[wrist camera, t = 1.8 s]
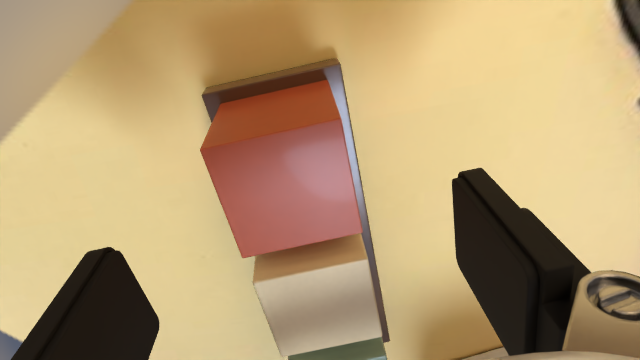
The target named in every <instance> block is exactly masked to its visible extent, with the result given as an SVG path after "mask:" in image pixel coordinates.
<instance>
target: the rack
mask: <svg viewBox="0 0 640 360" xmlns="http://www.w3.org/2000/svg"><path fill="white" fill-rule="evenodd" d="M323 80H328V82H329V85H330V87H331V90H332V93H333V96H334V99H335V102H336V105H337V107H338V110H339V113H340V116H341V119H342V124H343V130H344V135H345V140H346V145H347V151H348V156H349V161H350V166H351V172H352V177H353V182H354V187H355V193H356V198H357V203H358V208H359V214H360V219H361V224H362V229H363V233H359V234H355V235H350V236H345V237H340V238H336V239H331V240H326V241H322V242H317V243H312V244H308V245H303V246H298V247H293V248H289V249H284V250H279V251H275V252H270V253H265V254H260V255H256V256H255V266H254V276H253V285H254V288H255V290H256V293H257V295H258V298H259V301H260V303H261V306H262V308H263V311H264V313H265V316H266V318H267V321H268V324H269V326H270V329H271V331H272V334H273V336H274V339H275V341H276V344H277V346H278V349H279V352H280V354H281V356H282V357H285V356H288V360H387V356H386V352H385V348H384V344H383V343H384V342H389V341H390V339H389V333H388V328H387V322H386V316H385V311H384V305H383V300H382V294H381V288H380V283H379V277H378V272H377V266H376V260H375V255H374V249H373V244H372V238H371V232H370V227H369V221H368V216H367V210H366V204H365V199H364V193H363V188H362V182H361V176H360V171H359V165H358V160H357V154H356V148H355V143H354V137H353V132H352V126H351V120H350V115H349V109H348V104H347V98H346V92H345V87H344V81H343V76H342V70H341V64H340V62H339V61H338V59H337V58H335V59H331V60H326V61H322V62H317V63H313V64H309V65H304V66H300V67H296V68H291V69H287V70H282V71H278V72H274V73H269V74H265V75H260V76H256V77H252V78H247V79H243V80H239V81H234V82H230V83H225V84H221V85H217V86H212V87H208V88H206V89H205V91H204V92H203V94H202V98H203V100H204V103H205V106H206V109H207V111H208V114H209V117H210V120H211V122H213V119H214V117H215V115H216V113H217V110H218V108H219V106H220V104H221V103H226V102H230V101H235V100H239V99H244V98H248V97H252V96H257V95H261V94H266V93H270V92H275V91H279V90H283V89H288V88H292V87H297V86H301V85H305V84H310V83H314V82H319V81H323Z"/></svg>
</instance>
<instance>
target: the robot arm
mask: <svg viewBox="0 0 640 360" xmlns="http://www.w3.org/2000/svg"><path fill="white" fill-rule="evenodd" d="M452 193H453V211H454V229H455V247H456V259H457V263H458V265H459V268H460V270H461V272H462V273H463V275H464V277H465V279H466V280H467V282H468V284H469V286H470V288H471V289H472V291H473V293H474V295H475V296H476V298H477V300H478V302H479V304H480V305H481V307H482V309H483V311H484V312H485V314H486V316H487V318H488V319H489V321H490V323H491V325H492V327H493V328H494V330H495V332H496V334H497V335H498V337H499V339H500V341H501V343H502V344H503V346H504V348H505V350H506V351H507V353H508V355H509V356H506V357H498V358H492V359H486V360H640V277H639V276H636V275H633V274H629V273H626V272H620V271H612V270H609V271H597V272H593V273H591V272H590V271H589V270H588V269H587V268H586V267H585V266H584V265H583V264H582V263H581V262H580V261H579V260H578V259H577V258H576V256H575V255H574V254H573V253H572V252H571V251H570V250H569V249H568V248H567V247H566V246H565V245H564V244H563V243H562V242H561V241H560V240H559V239H558V238H557V237H556V236H555V235H554V234H553V233H552V232H551V231H550V230H549V229H548V228H547V227H546V226H545V225H544V224H543V223H542V222H541V221H540V220H539V219H538V218H537V217H536V216H535V215H534V214H533V213H532V212H531V211H530V210H528V209H526V208H520V207H519V206H518V205H517V204H516V203H515V202H514V201H513V200H512V199H511V198H510V197H509V196H508V195H507V194H506V193H505V192H504V191H503V190H502V189H501V187H500V186H499V185H498V184H497V183H496V182H495V181H494V180H493V179H492V178H491V177H490V176H489V175H488V174H487V173H486V172H485V171H484V170H483V169H482V168H476V169H472V170H467V171H462V172H459V174H458V178H455V179H453V180H452ZM158 331H159V319H158V317H157V315H156V313H155V311H154V309H153V308H152V306H151V304H150V302H149V301H148V299H147V297H146V295H145V294H144V292H143V290H142V288H141V286H140V285H139V283H138V281H137V279H136V278H135V276H134V274H133V272H132V271H131V269H130V267H129V265H128V263H127V262H126V260H125V258H124V256H123V255H122V253H121V252H120V251H115V250H114V249H113V248H111V247H107V248H102V249H97V250H93V251H89V252H87V253H86V254H85V255H84V257H83V258H82V260H81V261H80V263H79V264H78V265H77V267H76V268H75V270H74V271H73V272H72V274H71V275H70V277H69V278H68V280H67V281H66V282H65V284H64V285H63V287H62V288H61V289H60V291H59V292H58V294H57V295H56V296H55V298H54V299H53V301H52V302H51V304H50V305H49V306H48V308H47V309H46V311H45V312H44V313H43V315H42V316H41V318H40V319H39V321H38V322H37V323H36V325H35V326H34V328H33V329H32V330H31V332H30V333H29V335H28V336H27V338H26V339H25V340H24V342H23V343H22V345H21V346H20V347H19V349H18V351H17V352H16V353H15V354H14V356H13V357H12V359H11V360H148V359H149V356H150V353H151V350H152V348H153V345H154V342H155V339H156V337H157V334H158Z"/></svg>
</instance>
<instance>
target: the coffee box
mask: <svg viewBox="0 0 640 360" xmlns="http://www.w3.org/2000/svg"><path fill="white" fill-rule="evenodd" d="M506 356H509V355H508V353H507V351H506V350H505V348H504V347H502V348H498V349H495V350H491V351H488V352H485V353H482V354H478V355H475V356H471V357H468V358H464V359H461V360H486V359H492V358H498V357H506Z"/></svg>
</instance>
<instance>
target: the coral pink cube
mask: <svg viewBox="0 0 640 360" xmlns="http://www.w3.org/2000/svg"><path fill="white" fill-rule="evenodd" d="M200 151H201V154H202V156H203V159H204V161H205V164H206V166H207V169H208V172H209V174H210V177H211V179H212V182H213V184H214V187H215V189H216V192H217V195H218V197H219V200H220V202H221V205H222V207H223V210H224V212H225V215H226V217H227V220H228V223H229V225H230V228H231V230H232V233H233V235H234V238H235V240H236V243H237V245H238V248H239V251H240V253H241V256H242V258H246V257H251V256H256V255H260V254H265V253H270V252H275V251H279V250H284V249H289V248H293V247H298V246H303V245H308V244H312V243H317V242H322V241H326V240H331V239H336V238H340V237H345V236H350V235H355V234H359V233H363V229H362V224H361V219H360V214H359V208H358V203H357V198H356V193H355V187H354V182H353V177H352V172H351V166H350V161H349V156H348V151H347V145H346V140H345V135H344V130H343V124H342V119H341V116H340V113H339V110H338V107H337V105H336V102H335V99H334V96H333V93H332V90H331V87H330V85H329V82H328V80H323V81H319V82H314V83H310V84H305V85H301V86H297V87H292V88H288V89H283V90H279V91H275V92H270V93H266V94H261V95H257V96H252V97H248V98H244V99H239V100H235V101H230V102H226V103H221V104H220V106H219V108H218V110H217V113H216V115H215V117H214V119H213V122H212V124H211V126H210V128H209V131H208V133H207V135H206V137H205V140H204V142H203V144H202V146H201V149H200Z"/></svg>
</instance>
